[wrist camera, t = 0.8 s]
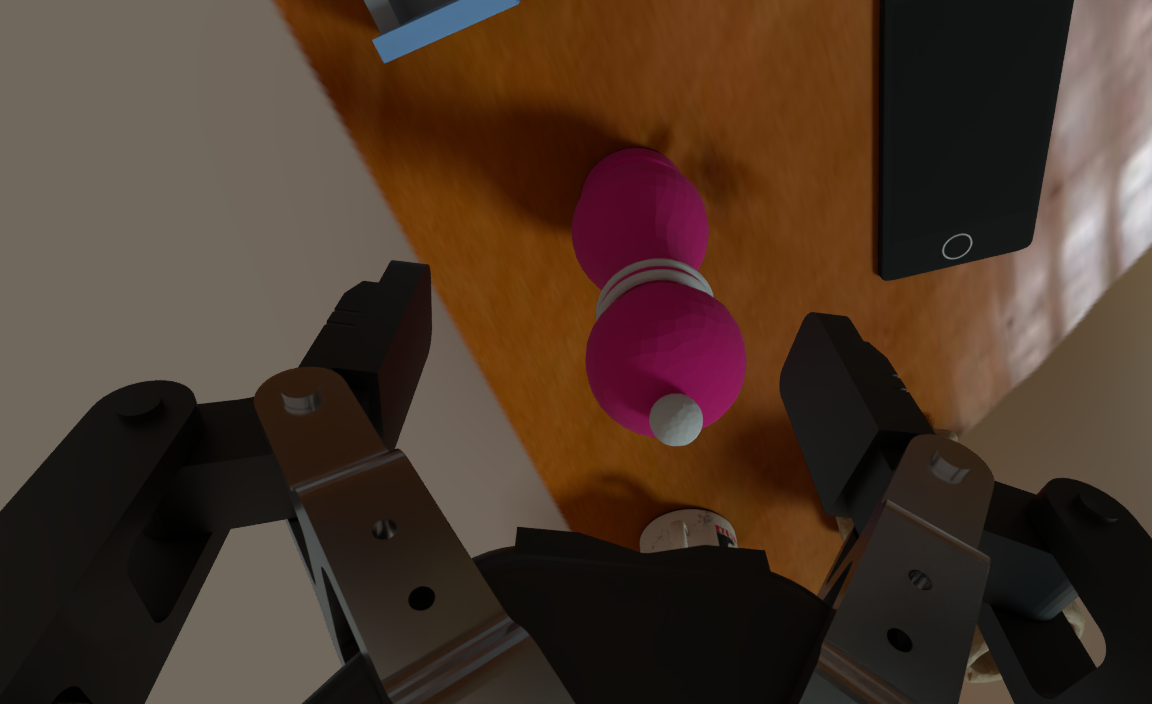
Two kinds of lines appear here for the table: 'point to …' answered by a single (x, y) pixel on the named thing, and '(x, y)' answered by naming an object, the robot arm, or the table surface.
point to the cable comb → (425, 21)
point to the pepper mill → (654, 300)
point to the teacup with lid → (687, 531)
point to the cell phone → (964, 127)
